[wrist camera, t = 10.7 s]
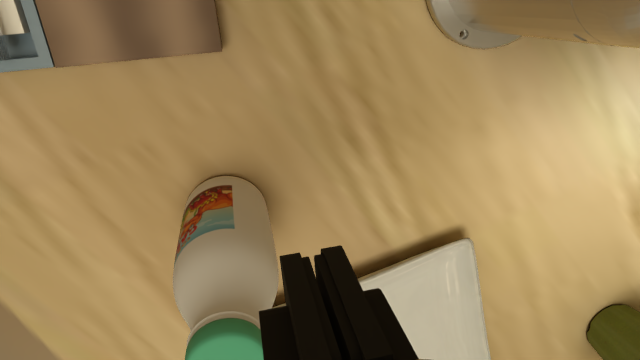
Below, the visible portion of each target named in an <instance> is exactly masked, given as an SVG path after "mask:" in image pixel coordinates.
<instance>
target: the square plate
mask: <svg viewBox="0 0 640 360" xmlns="http://www.w3.org/2000/svg"><path fill="white" fill-rule="evenodd" d="M358 281H359V283H360V285H361V287H362V289H363V291H365V290H371V289H376V288H379V289H381V291H382V292H383V294H384V296H385V297H386V299H387V301H388V303H389V305H390V307H391V308H392V310H393V312H394V314H395V316H396V318H397V320H398V321H399V323H400V325H401V327H402V329H403V331H404V332H405V334H406V336H407V338H408V340H409V342H410V343H411V345H412V347H413V349H414V351H415V353H416V355H417V356H418V358H419V359H431V360H491V358H490V352H489V347H488V340H487V333H486V327H485V320H484V312H483V306H482V299H481V290H480V283H479V276H478V268H477V262H476V255H475V250H474V245H473V241H472V240H471V239H470V238H464V239H460V240H457V241H454V242H451V243H448V244H446V245H443V246H441V247H437V248H434V249H432V250H429V251H426V252H424V253H421V254H418V255H416V256H413V257H411V258H408V259H406V260H403V261H401V262H399V263H396V264H394V265H391V266H389V267H386V268H383V269H381V270H378V271H376V272H373V273H371V274H368V275H365V276H363V277H360V278H358ZM282 306H286V303H284V304H281V305H278V306H276V307H273V308H277V307H282ZM271 309H272V308H271Z"/></svg>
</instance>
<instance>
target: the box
mask: <svg viewBox="0 0 640 360" xmlns="http://www.w3.org/2000/svg"><path fill="white" fill-rule="evenodd" d="M20 1H21V4H22V7H23V10H24V13H25V16H26V19H27V23H28V26H29V29H30V32H29V33H20V34H9V35H3V37H4V40H5V43H6V46H7V49H8V52H9V55H10V57H11V58H7V59H4V60H0V72H9V71H19V70H29V69H39V68H50V67H55V64H54V60H53V57H52V54H51V51H50V47H49V44H48V41H47V38H46V34H45V31H44V28H43V25H42V21H41V18H40V15H39V12H38V9H37V5H36V2H35V0H20Z"/></svg>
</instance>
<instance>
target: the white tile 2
mask: <svg viewBox="0 0 640 360" xmlns="http://www.w3.org/2000/svg"><path fill="white" fill-rule="evenodd" d="M0 29H1V31H2V34H3V35H9V34H20V33H29V32H30V29H29V26H28V23H27V19H26V16H25V13H24V10H23V7H22V4H21V1H20V0H0Z"/></svg>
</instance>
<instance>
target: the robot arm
mask: <svg viewBox="0 0 640 360" xmlns="http://www.w3.org/2000/svg"><path fill="white" fill-rule="evenodd" d="M426 2H427V6H428V9H429V12H430V14H431V16H432V18H433V20H434V22H435V24H436V25H437V26H438V27H439V29H440V30H441V31H442V33H443V34H445V35H446V36H447V37H448V38H450V39H451V40H452V41H454V42H456V43H458V44H460V45H462V46H466V47H470V48H476V49H493V48H498V47H501V46H505V45H508V44H510V43H512V42H513V41H515V40H517V39H519V38H520V37H522V36H529V37H538V38H547V39H556V40H565V41H574V42H583V43H592V44H601V45H610V46H621V47H631V48H640V0H426ZM460 32H461V36H460ZM314 261H315V272H316V277H315V274H314V271H313V268H312V265H311V262H310V259H309V257H303V258H301V254H300V253H295V254H289V255H283V256H280V263H281V271H282V279H283V286H284V294H285V302H286V306H282V307H277V308H272V309H267V310H261V311H259V321H260V330H261V339H262V349H263V358H264V360H431V359H419V358H418V356H417V355H416V353H415V351H414V349H413V347H412V345H411V343H410V342H409V340H408V338H407V336H406V334H405V332H404V331H403V329H402V327H401V325H400V323H399V321H398V320H397V318H396V316H395V314H394V312H393V310H392V308H391V307H390V305H389V303H388V301H387V299H386V297H385V296H384V294H383V292H382V291H381V289H379V288H376V289H371V290H365V291H363V289H362V287H361V285H360V283H359V281H358V279H357V277H356V275H355V273H354V271H353V269H352V266H351V264H350V262H349V260H348V258H347V256H346V254H345V252H344V250H343V248H342V246H335V247H329V248H323V249H321V254H320V255H315V256H314Z"/></svg>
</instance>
